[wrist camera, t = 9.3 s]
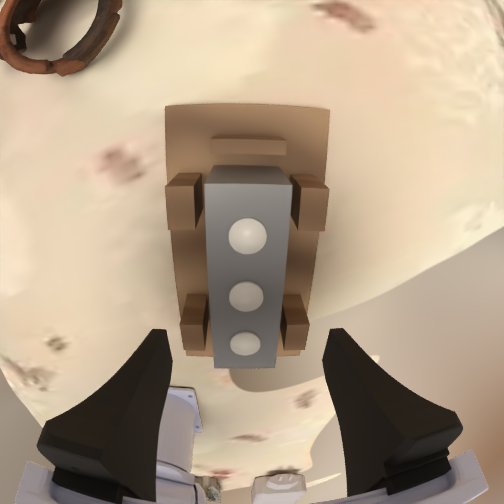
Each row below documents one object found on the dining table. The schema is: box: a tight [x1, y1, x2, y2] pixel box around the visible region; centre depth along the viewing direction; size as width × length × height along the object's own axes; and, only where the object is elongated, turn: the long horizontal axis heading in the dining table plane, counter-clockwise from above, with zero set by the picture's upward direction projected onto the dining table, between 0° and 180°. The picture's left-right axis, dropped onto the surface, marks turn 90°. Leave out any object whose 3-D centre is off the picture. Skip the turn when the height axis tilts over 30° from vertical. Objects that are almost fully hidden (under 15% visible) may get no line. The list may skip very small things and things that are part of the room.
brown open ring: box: [0, 0, 122, 76], centre depth 11 cm, size 12×10×8 cm
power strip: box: [204, 165, 293, 368], centre depth 18 cm, size 12×4×5 cm, turn 178°
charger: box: [251, 473, 306, 504], centre depth 41 cm, size 5×9×15 cm
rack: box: [165, 104, 330, 357], centre depth 19 cm, size 20×10×4 cm, turn 178°
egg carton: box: [194, 476, 221, 503], centre depth 42 cm, size 11×8×4 cm
